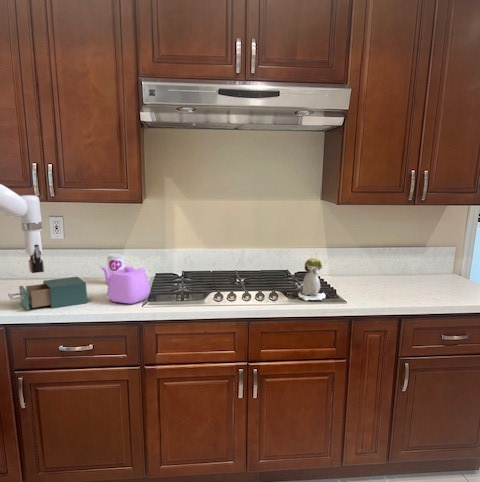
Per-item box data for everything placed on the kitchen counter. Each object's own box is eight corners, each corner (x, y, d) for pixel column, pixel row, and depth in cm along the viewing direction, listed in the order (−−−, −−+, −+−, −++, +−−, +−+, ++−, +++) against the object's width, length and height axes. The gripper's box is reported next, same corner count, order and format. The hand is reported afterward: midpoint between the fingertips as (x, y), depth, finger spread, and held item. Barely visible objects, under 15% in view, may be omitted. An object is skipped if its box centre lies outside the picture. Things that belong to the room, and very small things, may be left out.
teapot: (160, 294, 214) (159, 262, 210) (135, 307, 195) (133, 272, 191) (118, 289, 222) (116, 258, 218) (89, 301, 202) (87, 267, 198)
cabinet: (51, 308, 192) (49, 287, 189) (44, 300, 202) (42, 280, 199) (87, 303, 200) (85, 282, 197) (79, 296, 210) (77, 276, 207)
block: (32, 273, 188) (30, 262, 187) (29, 270, 192) (28, 260, 191) (44, 271, 191) (42, 260, 189) (41, 269, 194) (40, 258, 193)
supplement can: (123, 286, 226) (122, 256, 222) (106, 286, 226) (105, 256, 222) (127, 282, 234) (126, 253, 230) (111, 282, 234) (109, 253, 230)
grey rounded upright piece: (293, 299, 211) (295, 259, 206) (303, 292, 222) (305, 254, 217) (319, 302, 206) (321, 262, 201) (327, 295, 217) (330, 257, 212)
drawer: (12, 311, 184) (10, 294, 182) (8, 304, 193) (6, 287, 191) (61, 304, 194) (59, 287, 192) (54, 298, 203) (52, 281, 201)
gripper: (17, 224, 191) (23, 268, 196) (25, 230, 177) (31, 276, 182) (37, 223, 195) (41, 266, 200) (46, 228, 182) (51, 274, 186)
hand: (36, 270), depth 191 cm, fingers closed on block, 4 cm apart
